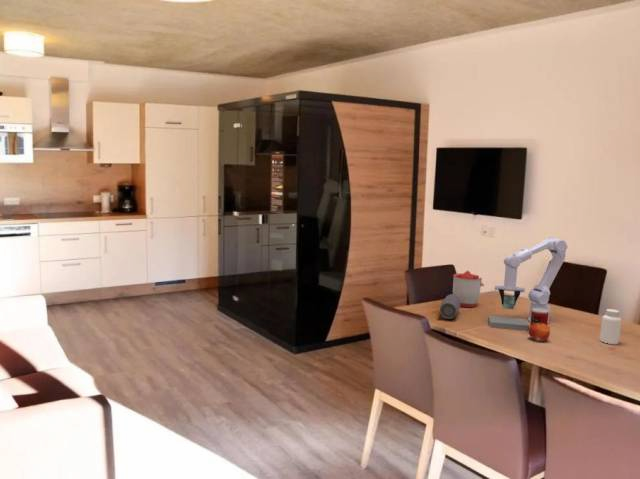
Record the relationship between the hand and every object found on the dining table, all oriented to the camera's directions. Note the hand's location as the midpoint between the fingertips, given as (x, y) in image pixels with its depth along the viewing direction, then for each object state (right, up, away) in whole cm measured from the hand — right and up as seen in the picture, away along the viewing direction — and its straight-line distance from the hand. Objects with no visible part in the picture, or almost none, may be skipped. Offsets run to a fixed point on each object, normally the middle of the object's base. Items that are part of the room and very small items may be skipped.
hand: (508, 304), depth 288 cm
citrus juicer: (-13, -4, +32) cm, 35 cm away
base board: (-3, -9, -7) cm, 12 cm away
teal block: (0, -2, 0) cm, 2 cm away
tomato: (+4, -13, -30) cm, 33 cm away
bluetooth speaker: (-28, -7, +7) cm, 30 cm away
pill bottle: (+37, -14, -29) cm, 49 cm away
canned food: (+8, -11, -18) cm, 23 cm away
